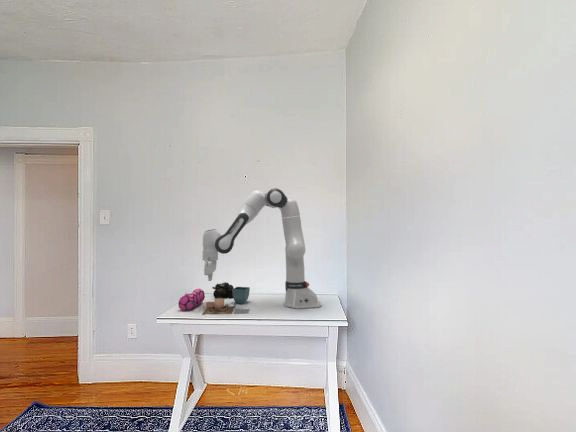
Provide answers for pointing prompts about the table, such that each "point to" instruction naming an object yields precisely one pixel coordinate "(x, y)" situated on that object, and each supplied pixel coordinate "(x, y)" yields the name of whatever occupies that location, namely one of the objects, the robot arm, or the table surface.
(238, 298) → the flower pot
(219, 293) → the film camera
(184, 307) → the pencil case
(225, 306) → the socket board
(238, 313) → the mat
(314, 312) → the table surface
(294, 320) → the table surface
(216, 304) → the toggle lever handle
